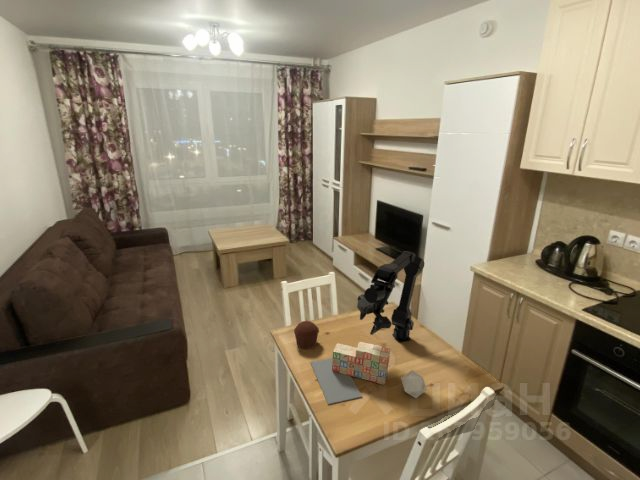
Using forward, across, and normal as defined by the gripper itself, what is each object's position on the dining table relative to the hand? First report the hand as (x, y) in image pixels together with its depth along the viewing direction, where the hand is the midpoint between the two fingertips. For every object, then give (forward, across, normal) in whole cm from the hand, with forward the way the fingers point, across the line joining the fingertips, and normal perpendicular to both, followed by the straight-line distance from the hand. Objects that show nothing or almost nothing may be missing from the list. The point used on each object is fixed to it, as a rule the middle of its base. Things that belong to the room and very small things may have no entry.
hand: (365, 326), depth 142 cm
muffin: (+23, -14, -14) cm, 30 cm away
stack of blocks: (+14, +12, -4) cm, 19 cm away
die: (+7, +28, +8) cm, 30 cm away
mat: (+17, +11, -14) cm, 24 cm away
